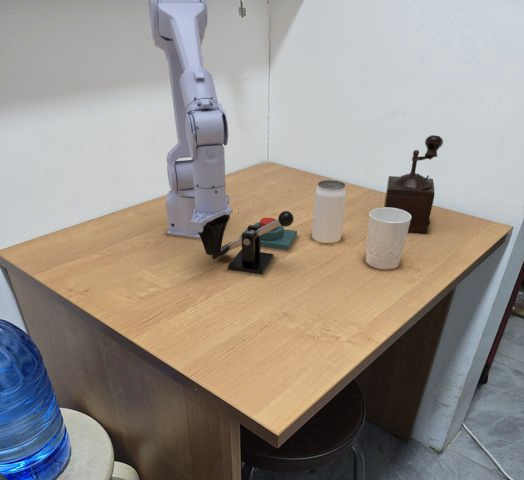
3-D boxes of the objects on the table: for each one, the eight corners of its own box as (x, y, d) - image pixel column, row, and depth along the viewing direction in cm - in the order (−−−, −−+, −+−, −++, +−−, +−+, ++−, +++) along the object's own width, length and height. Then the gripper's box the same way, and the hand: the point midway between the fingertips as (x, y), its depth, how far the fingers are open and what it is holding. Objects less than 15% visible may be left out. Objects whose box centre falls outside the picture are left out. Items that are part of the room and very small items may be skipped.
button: (257, 230, 104) (258, 222, 103) (262, 224, 107) (262, 216, 106) (274, 232, 103) (274, 224, 102) (278, 226, 106) (278, 218, 105)
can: (339, 246, 105) (346, 190, 98) (310, 243, 106) (314, 188, 99) (342, 234, 110) (348, 180, 103) (313, 231, 111) (317, 178, 104)
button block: (238, 244, 105) (238, 230, 103) (249, 230, 111) (249, 217, 109) (287, 251, 102) (288, 237, 100) (296, 236, 108) (297, 222, 107)
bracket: (228, 270, 95) (226, 236, 91) (241, 253, 101) (240, 220, 97) (262, 275, 94) (262, 240, 89) (273, 258, 100) (274, 224, 95)
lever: (215, 264, 97) (208, 252, 96) (222, 255, 101) (215, 244, 99) (293, 226, 88) (285, 212, 87) (298, 218, 91) (291, 205, 90)
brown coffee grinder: (430, 234, 110) (449, 151, 99) (380, 229, 112) (393, 147, 101) (427, 210, 122) (444, 133, 112) (382, 206, 124) (395, 130, 113)
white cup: (404, 257, 101) (413, 210, 95) (399, 274, 95) (409, 225, 89) (365, 251, 103) (372, 205, 97) (359, 267, 97) (366, 219, 91)
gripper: (215, 199, 81) (219, 272, 89) (243, 173, 92) (244, 240, 100) (176, 194, 82) (183, 266, 91) (208, 170, 94) (212, 236, 102)
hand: (213, 252), depth 96 cm, fingers closed
